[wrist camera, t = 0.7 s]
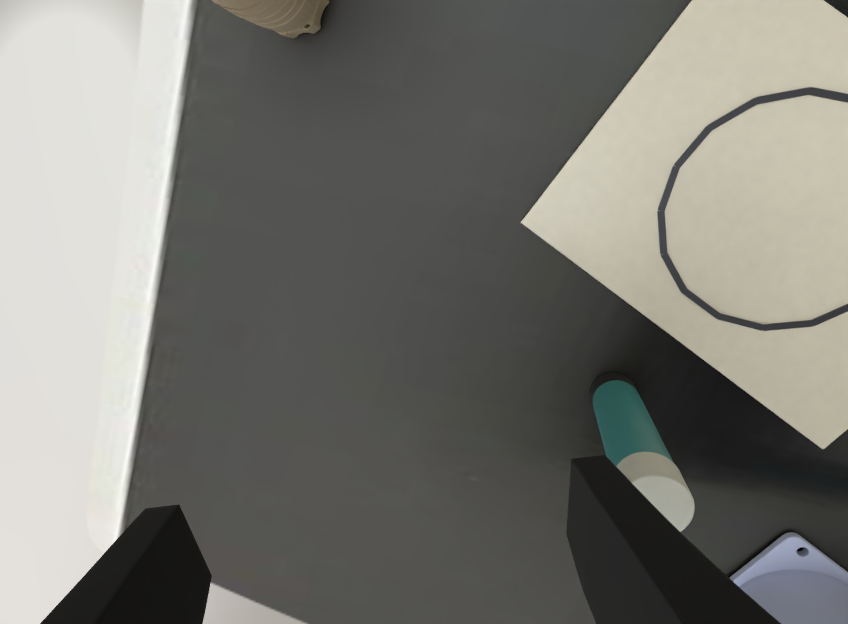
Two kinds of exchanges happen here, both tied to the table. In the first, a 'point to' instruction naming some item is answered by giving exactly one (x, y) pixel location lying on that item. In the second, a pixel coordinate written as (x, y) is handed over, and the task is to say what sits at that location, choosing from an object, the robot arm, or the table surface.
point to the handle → (279, 14)
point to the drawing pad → (728, 200)
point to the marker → (639, 447)
